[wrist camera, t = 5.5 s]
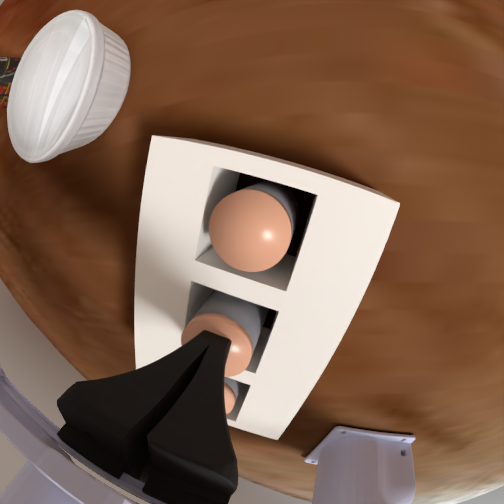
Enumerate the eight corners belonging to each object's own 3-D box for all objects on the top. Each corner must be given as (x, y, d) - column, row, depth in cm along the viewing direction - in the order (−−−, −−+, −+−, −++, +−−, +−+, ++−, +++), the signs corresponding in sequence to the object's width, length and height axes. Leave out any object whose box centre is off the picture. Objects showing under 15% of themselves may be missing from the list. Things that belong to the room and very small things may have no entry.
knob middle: (275, 288, 15) (258, 336, 11) (260, 333, 17) (241, 385, 12) (219, 269, 16) (184, 309, 12) (209, 315, 17) (178, 360, 13)
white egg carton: (377, 190, 14) (403, 205, 9) (286, 396, 20) (276, 445, 16) (193, 139, 15) (146, 134, 11) (164, 351, 22) (133, 389, 17)
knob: (306, 191, 14) (301, 204, 10) (289, 248, 16) (277, 282, 11) (247, 174, 15) (217, 180, 11) (233, 230, 16) (202, 257, 12)
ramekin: (147, 140, 16) (90, 141, 11) (53, 167, 19) (7, 177, 14) (148, 7, 12) (105, -19, 8) (55, 58, 15) (14, 53, 10)
